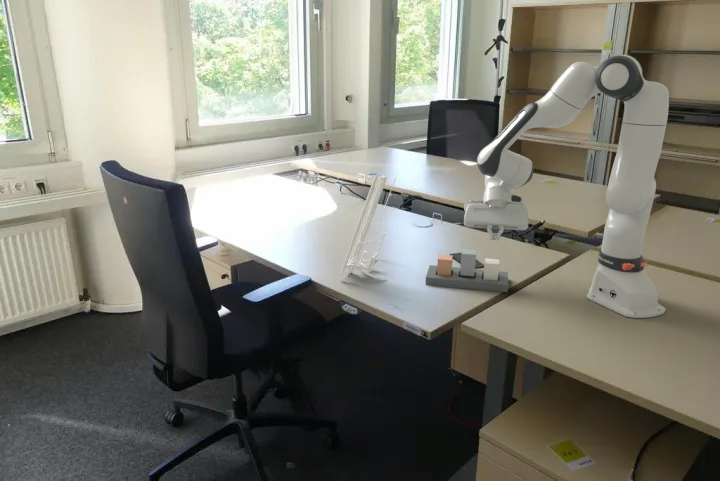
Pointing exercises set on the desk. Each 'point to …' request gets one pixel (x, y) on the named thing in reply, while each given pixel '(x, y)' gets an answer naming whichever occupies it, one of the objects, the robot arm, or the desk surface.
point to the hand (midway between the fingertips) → (494, 239)
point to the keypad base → (467, 280)
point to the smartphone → (458, 258)
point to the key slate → (468, 262)
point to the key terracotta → (444, 265)
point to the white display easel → (365, 231)
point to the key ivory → (491, 269)
